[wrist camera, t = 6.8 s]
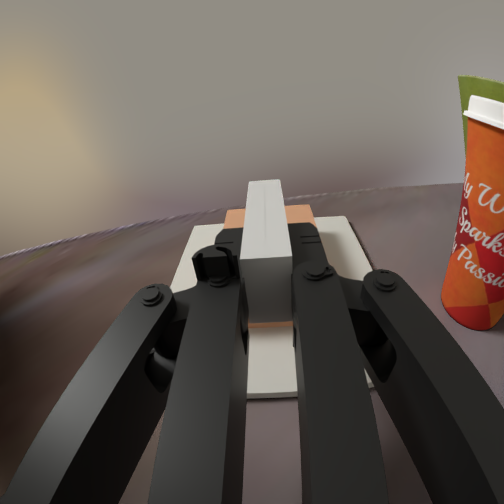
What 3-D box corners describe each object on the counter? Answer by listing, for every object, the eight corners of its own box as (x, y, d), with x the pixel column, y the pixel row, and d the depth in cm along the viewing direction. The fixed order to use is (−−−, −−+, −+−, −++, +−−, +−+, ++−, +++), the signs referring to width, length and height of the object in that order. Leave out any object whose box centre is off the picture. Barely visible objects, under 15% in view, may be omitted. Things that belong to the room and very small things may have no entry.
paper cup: (409, 287, 19) (438, 86, 11) (467, 263, 20) (497, 103, 12) (473, 361, 12) (561, 123, 4) (524, 317, 13) (583, 139, 6)
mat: (140, 392, 14) (136, 386, 13) (195, 231, 29) (194, 226, 28) (411, 379, 13) (415, 373, 12) (344, 221, 28) (344, 216, 27)
